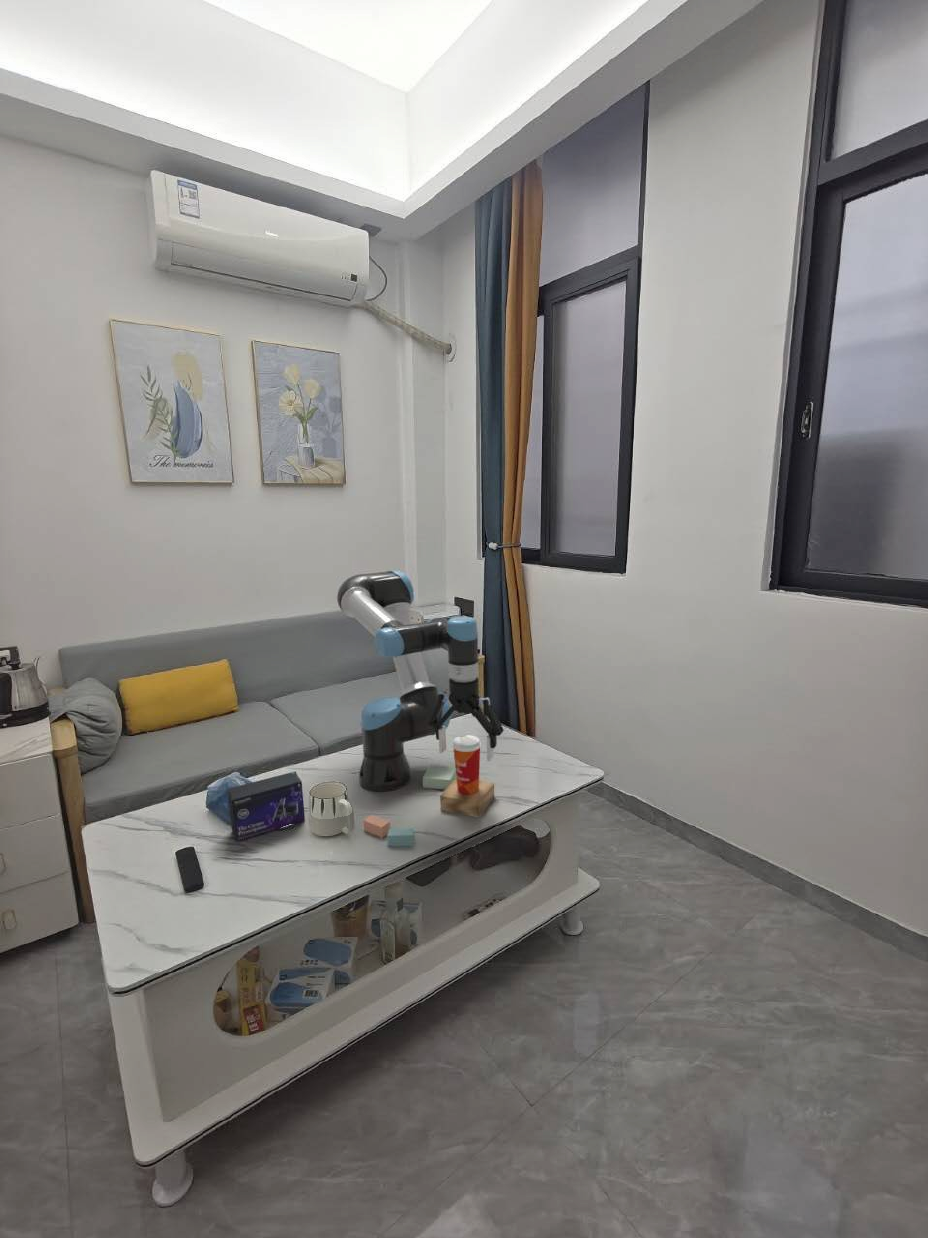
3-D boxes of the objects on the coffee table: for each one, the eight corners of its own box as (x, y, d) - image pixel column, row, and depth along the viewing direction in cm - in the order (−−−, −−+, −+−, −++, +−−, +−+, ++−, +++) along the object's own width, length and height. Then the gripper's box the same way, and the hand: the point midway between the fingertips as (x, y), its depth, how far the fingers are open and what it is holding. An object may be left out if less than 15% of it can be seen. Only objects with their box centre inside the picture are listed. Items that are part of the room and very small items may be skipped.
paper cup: (450, 785, 156) (447, 737, 153) (476, 780, 159) (475, 732, 156) (459, 799, 149) (457, 749, 146) (487, 793, 151) (485, 743, 148)
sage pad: (423, 787, 164) (422, 777, 163) (431, 774, 171) (430, 764, 171) (450, 790, 162) (450, 780, 161) (457, 776, 169) (457, 767, 169)
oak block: (440, 809, 152) (440, 795, 151) (457, 789, 162) (457, 776, 161) (479, 817, 148) (478, 803, 147) (494, 796, 157) (494, 783, 157)
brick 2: (388, 847, 137) (387, 835, 136) (389, 839, 140) (389, 828, 139) (413, 846, 137) (412, 835, 136) (414, 839, 140) (414, 828, 139)
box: (236, 844, 140) (230, 799, 137) (231, 831, 145) (226, 787, 143) (306, 822, 148) (301, 780, 145) (299, 811, 154) (295, 769, 151)
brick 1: (364, 831, 144) (363, 820, 143) (372, 825, 146) (371, 814, 145) (382, 838, 140) (381, 827, 140) (390, 832, 143) (389, 821, 142)
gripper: (413, 677, 149) (417, 753, 153) (505, 687, 139) (506, 768, 143) (426, 669, 155) (430, 742, 160) (514, 678, 146) (515, 755, 150)
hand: (466, 754), depth 152 cm, fingers open, 13 cm apart
